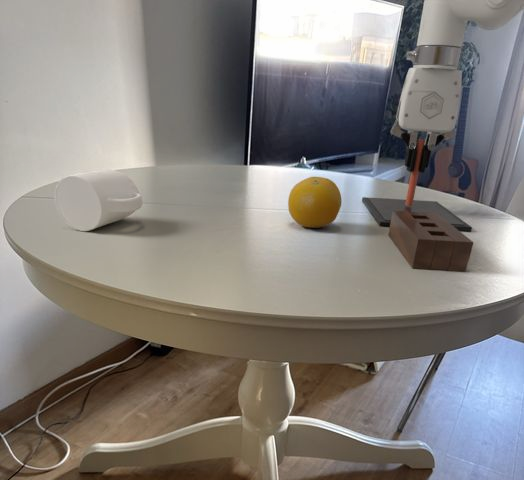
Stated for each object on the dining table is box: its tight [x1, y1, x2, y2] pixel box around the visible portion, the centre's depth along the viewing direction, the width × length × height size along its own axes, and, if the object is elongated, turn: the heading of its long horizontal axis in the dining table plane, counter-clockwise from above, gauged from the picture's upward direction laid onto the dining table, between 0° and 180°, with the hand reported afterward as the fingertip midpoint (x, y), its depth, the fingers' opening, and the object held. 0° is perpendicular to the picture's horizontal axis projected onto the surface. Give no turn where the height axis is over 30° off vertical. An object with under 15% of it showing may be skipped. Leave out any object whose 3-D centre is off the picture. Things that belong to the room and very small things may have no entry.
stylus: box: [405, 139, 426, 206], centre depth 93 cm, size 1×1×12 cm
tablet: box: [361, 196, 473, 233], centre depth 93 cm, size 16×22×1 cm
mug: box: [54, 168, 143, 232], centre depth 74 cm, size 12×9×8 cm
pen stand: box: [387, 211, 474, 273], centre depth 71 cm, size 7×17×4 cm, turn 178°
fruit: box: [287, 176, 343, 229], centre depth 79 cm, size 9×8×8 cm
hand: (415, 170), depth 92 cm, fingers closed on stylus, 1 cm apart
